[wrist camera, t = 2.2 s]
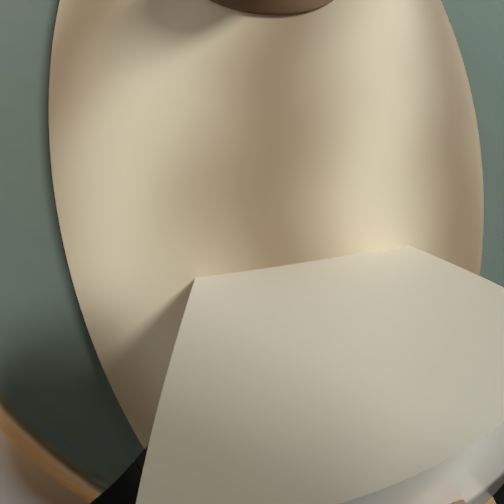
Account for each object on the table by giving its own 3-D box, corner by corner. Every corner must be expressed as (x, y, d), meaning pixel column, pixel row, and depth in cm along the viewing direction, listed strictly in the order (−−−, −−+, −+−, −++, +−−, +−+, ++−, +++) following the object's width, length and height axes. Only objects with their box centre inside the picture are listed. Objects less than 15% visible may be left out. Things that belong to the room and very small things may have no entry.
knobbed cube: (409, 245, 8) (611, 348, 1) (392, 400, 10) (477, 529, 3) (195, 277, 8) (125, 570, 1) (232, 436, 9) (245, 608, 2)
